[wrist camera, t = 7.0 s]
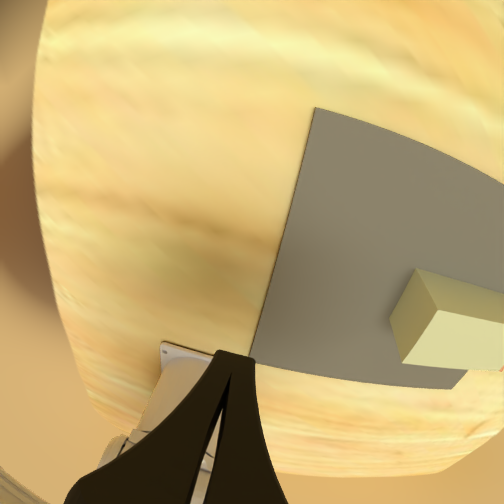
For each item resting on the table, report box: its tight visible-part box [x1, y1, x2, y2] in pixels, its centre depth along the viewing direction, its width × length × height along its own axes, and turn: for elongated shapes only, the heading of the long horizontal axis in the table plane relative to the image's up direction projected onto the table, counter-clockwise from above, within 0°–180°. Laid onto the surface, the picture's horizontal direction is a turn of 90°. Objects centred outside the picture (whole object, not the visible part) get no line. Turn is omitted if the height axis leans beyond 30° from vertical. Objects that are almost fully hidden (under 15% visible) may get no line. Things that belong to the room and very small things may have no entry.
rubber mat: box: [249, 107, 504, 389], centre depth 19 cm, size 20×22×1 cm
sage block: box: [389, 268, 504, 371], centre depth 17 cm, size 4×4×11 cm
